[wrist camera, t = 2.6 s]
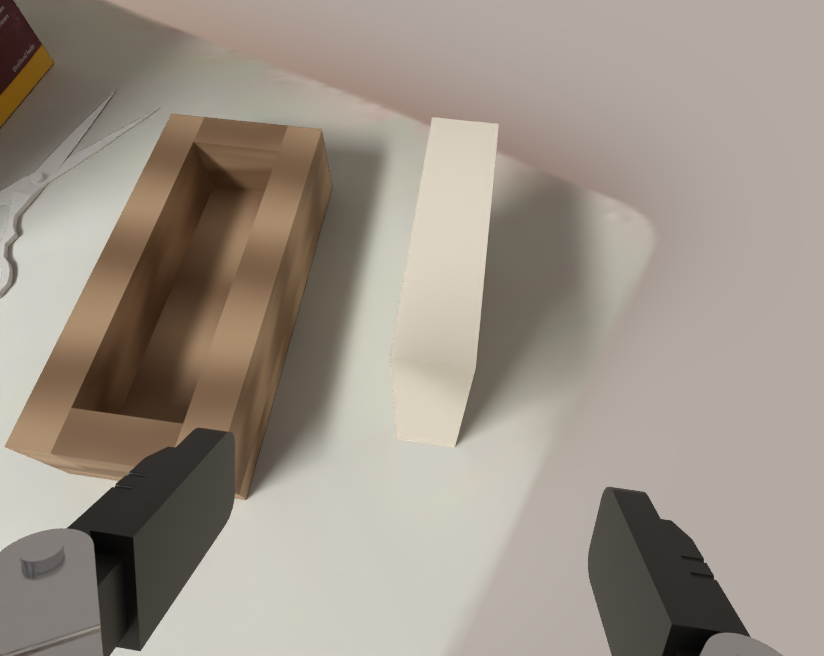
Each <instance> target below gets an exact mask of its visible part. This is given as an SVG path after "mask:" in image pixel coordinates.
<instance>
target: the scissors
mask: <svg viewBox="0 0 824 656" xmlns="http://www.w3.org/2000/svg"><path fill="white" fill-rule="evenodd" d="M114 92H115V91H114ZM114 92H113V93H112V94H111V95H110V96H109V97H108V98H107V99H106V100H105V101H104V102H103V103H102V104H101V105H100V106H99V107H98V108H97V109H96V110H95V111H94V112H93V113H92V114H91V115H90V116H89V117H88V118H87V119H86V120H85V121H83V122H82V123H81V124H80V125H79V126H78V127H77V128H76V129H75V130H74V131H73V132H72V133H71V134H70V135H69V136H68V137H67V138H66V139H65V140H64V141H63V142H62V143H61V144H60V146H59V147H58V148H57V149H56V150H55V151H54V152H53V153H52V154H51V155H50V156H49V157H48V158H47V159H46V160H45V161H44V162H43V163H42V164H41V166H40V167H39V168H38V169H37V170H36V171H35V172H34V173H32V174H30V175H28V176H26V177H23V178H21V179H20V180H18V181H16V182H15V183H13V184H12V185H10V186H8V187H7V188H5V189H3V190H2V191H0V206H3V205H7V204H10V209H9V214H8V220H7V226H6V230H5V234H4V236H3V238H2V239H1V241H0V268H1V277H0V298H1V297H2V296H3V294H4V293H5V292H6V291H7V290H8V289H9V287H10V286H11V284H12V279H13V269H12V265H11V264H10V263H9V261H8V260H7V256H8V247H9V246H10V245H11V244H12V243H13V242H14V241H15V240H16V239H17V238H18V234H17V230H16V226H17V221H18V218H19V217H20V216H21V215H22V213H23V212H24V211H25V210H26V209H27V208H28V207H29V205H30V204H31V203H32V202H33V201H34V200H35V198H36V197H37V196H38V195H39V194H40V192H41V191H42V190H43V189H44V188H45V187H46V185H47V184H49V183H50V182H52V181H54V180H55V179H57V178H58V177H60V176H61V175H63V174H65V173H66V172H68V171H69V170H71V169H72V168H74V167H76V166H77V165H79V164H80V163H82V162H83V161H85V160H87V159H88V158H90V157H91V156H93V155H94V154H95V153H97V152H98V151H100V150H101V149H103V148H104V147H106V146H107V145H109V144H110V143H112V142H113V141H114V140H116V139H117V138H119V137H120V136H122V135H123V134H125V133H126V132H128V131H129V130H131V129H132V128H133V127H135V126H136V125H138V124H139V123H141V122H142V121H144V120H145V119H146V118H148V117H149V116H150V115H152V114H153V113H154V112H155V111H157V110H158V109H159V108H158V109H156V110H155V111H153V112H151V113H149V114H147V115H145V116H143V117H142V118H140V119H138V120H136V121H134V122H132V123H130V124H129V125H127V126H125V127H123V128H121V129H119V130H117V131H116V132H114V133H112V134H110V135H108V136H107V137H105V138H103V139H101V140H100V141H98V142H96V143H94V144H92V145H90V146H88V147H87V148H85V149H83V150H81V151H79V152H77V153H75V154H73V155H72V156H70V157H69V158H68V159H66V158H67V157H68V156H69V154H70V153H71V152H72V150H73V149H74V148H75V146H76V145H77V144H78V142H79V141H80V139H81V138H82V137H83V135H84V134H85V133H86V131H87V130H88V129H89V127H90V126H91V124H92V123H93V122H94V120H95V119H96V117H97V116H98V115H99V113H100V112H101V110H102V109H103V108H104V106H105V105H106V103H107V102H108V101H109V99H110V98H111V96H112V95H113V94H114Z"/></svg>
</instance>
